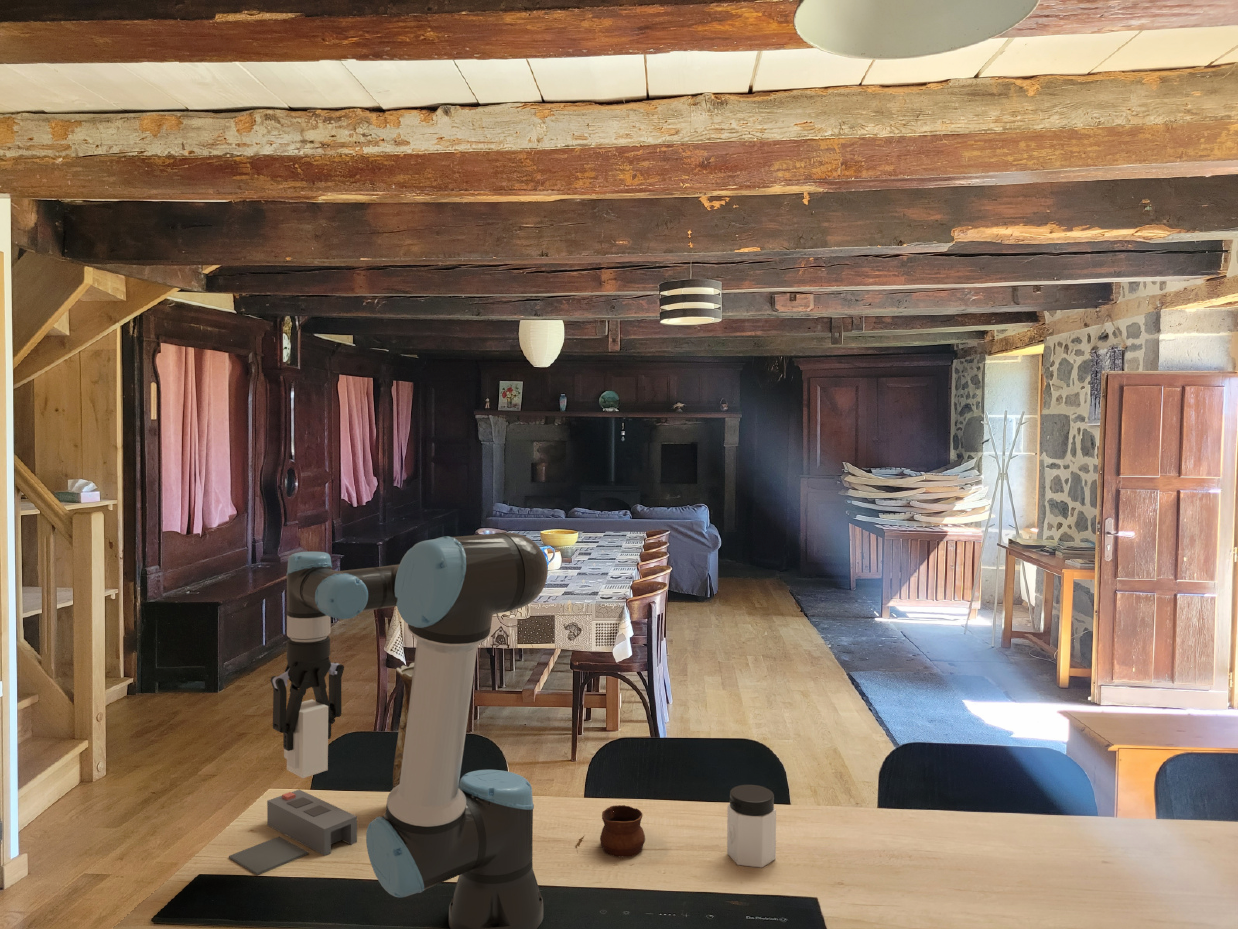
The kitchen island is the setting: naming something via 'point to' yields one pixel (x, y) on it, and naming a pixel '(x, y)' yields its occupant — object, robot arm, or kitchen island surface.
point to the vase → (402, 720)
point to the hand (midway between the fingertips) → (307, 761)
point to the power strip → (311, 821)
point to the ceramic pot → (621, 831)
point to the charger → (311, 739)
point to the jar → (751, 826)
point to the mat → (268, 855)
